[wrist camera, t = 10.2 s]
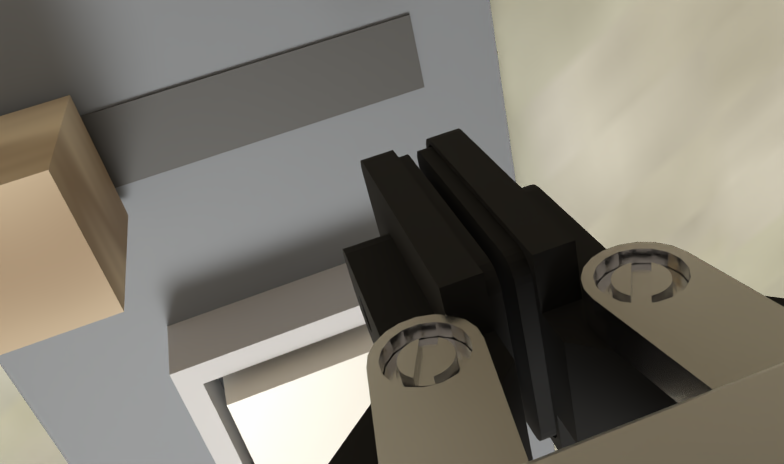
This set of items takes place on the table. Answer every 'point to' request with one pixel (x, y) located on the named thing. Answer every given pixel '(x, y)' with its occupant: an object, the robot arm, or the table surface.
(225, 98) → the switch panel
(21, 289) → the slider knob
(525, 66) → the table surface
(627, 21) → the table surface
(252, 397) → the push button
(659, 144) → the table surface
